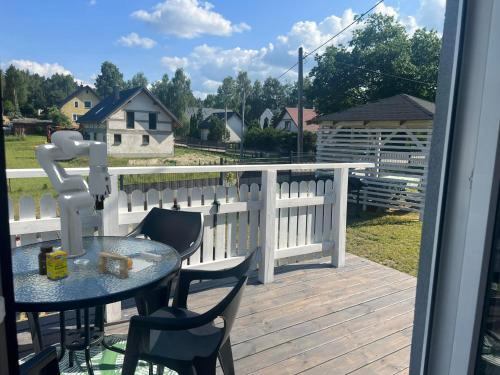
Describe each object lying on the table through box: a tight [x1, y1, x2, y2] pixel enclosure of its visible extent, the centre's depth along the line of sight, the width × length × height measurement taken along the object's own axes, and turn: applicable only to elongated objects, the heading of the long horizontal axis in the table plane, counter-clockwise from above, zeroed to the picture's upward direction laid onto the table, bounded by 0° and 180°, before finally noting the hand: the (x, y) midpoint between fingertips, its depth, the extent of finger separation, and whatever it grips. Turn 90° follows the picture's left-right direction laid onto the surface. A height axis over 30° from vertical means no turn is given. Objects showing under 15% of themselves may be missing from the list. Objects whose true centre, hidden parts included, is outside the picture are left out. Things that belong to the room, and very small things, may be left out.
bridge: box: [97, 250, 129, 280], centre depth 163 cm, size 3×14×9 cm, turn 63°
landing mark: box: [113, 258, 155, 274], centre depth 176 cm, size 13×13×1 cm
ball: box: [128, 257, 133, 269], centre depth 171 cm, size 6×6×6 cm
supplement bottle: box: [37, 244, 54, 276], centre depth 163 cm, size 7×7×12 cm
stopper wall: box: [139, 251, 163, 263], centre depth 185 cm, size 2×12×2 cm, turn 63°
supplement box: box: [46, 250, 69, 282], centre depth 159 cm, size 6×6×11 cm
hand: (99, 209), depth 169 cm, fingers closed
